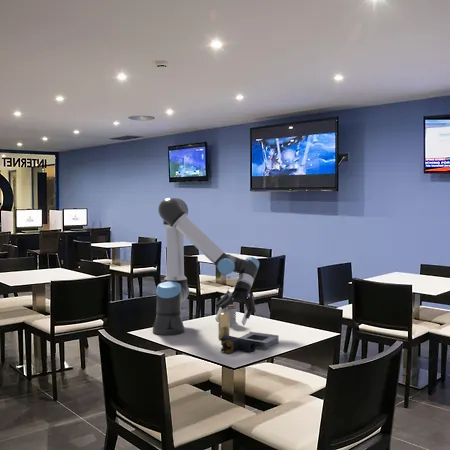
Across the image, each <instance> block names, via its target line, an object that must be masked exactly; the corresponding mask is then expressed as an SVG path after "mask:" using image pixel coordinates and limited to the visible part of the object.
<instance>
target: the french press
mask: <svg viewBox="0 0 450 450" xmlns="http://www.w3.org/2000/svg"><path fill="white" fill-rule="evenodd" d="M226 278H227V279H231V275H227V277H226ZM227 291H229V292H230V289H228V290H227ZM224 295H225V294H224ZM224 295H221V296H220V299H221V298H222V297H223V296H224ZM231 296H232V295H231ZM229 298H230V297H229ZM229 298H228V299H229ZM232 299H233V298H232ZM222 310H223V312H228V313H230V326H231V327H232V326H238V322H237V319H236V318H237V307H236V304H234V303H231V304H229V305H228V306H226V307H225V308H224V309H222ZM230 326H229V327H230Z"/></svg>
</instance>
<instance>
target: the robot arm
mask: <svg viewBox="0 0 450 450" xmlns="http://www.w3.org/2000/svg"><path fill="white" fill-rule="evenodd" d="M158 214H159V217H160V218H161V219H162V221H163V222H162V223H163V226H164V227H165V229H166V276H165V277H164V278H163V282H160V283H158V285H157V286H156V291H155V292H156V293H155V294H156V316H155V320H154V322H153V326H152V333H153V334H156V335H160V336H175V335H180V334H181V335H182V333H184V332H185V326H184V323H183V320H182V319H183V317H182V314H181V313H182V312H181V305H182V304H183V303H185V302H186V301H187V299H188V297H189V295H190V288H189V285H188V278H187V277H186V276H185V264H184V263H185V259H184V257H185V256H184V255H185V253H184V251H185V249H184V248H185V247H184V246H185V245H184V238H186V239H187V240H188V241H189V243H191V244H192V245H193V246H194V247H195V249H197V250H198V251H200V252H201V254H202V255H204V256H205V257H206V258H207V259H208V261H210V262H211V263H212V264H213V265H214V266H215V267H216V268H217V270H218V272H219V273H220V274H223V275H229V274H233V273H236V274H238V275H239V276H238V278H237V280H236V283H235V286H234V287H233V288H234V289H233V290H232V291H230V290H229V291H228V290H227V291H226V292H225V294H224V296H223V295H222V296H223V297H222V296H221V297H222V298H221V297H220V299H219V300H218V301H217V302H216V303H215V304H214V305H215V307H216V309H217V310H216V311H215V314H216V316H215V318H214V319H215V321H216V322H217V323H219V313H220V312H223V310H222V309H224V308H225V307H226V306H228V305H229V304H234V302H235V303H238V302H239V303H242V302H243V303H244V306H245V307H246V310H245V311H244V314H243V317H242V320H241V324H242V325H243V326H245V325H246V323H247V321H248V320H249V319H250V317H251V314H252V313H256V312H257V311H256V305H255V300H254V299H255V295H254V293H253V292H251V290H252V288H253V287H252V286H253V283H254V281H255V278H256V276H257V273H258V271H259V268H260V260H259V259H257V258H256V257H254V256H248V257H246V258H245V259H243V258H240V257H237V256H234V255H233V254H229V253H226V252H225V251H224V250H223V249H221V247H219V246H218V245H217V244H216V243H215V242H214V241H213V240H212V239H211V238H210V237H209V236H208V235H206V233H205V232H203V230H202V229H200V227H198V226H197V224H195V223H194V222H193V221H192V220H191V219H190V218H189V217H188V214H189V207H188V205H187V203H186V202H185V201H184V200H183V199H181V198H177V197H167V198H165V199H162V201H160V203H159V204H158ZM231 295H232V296H231ZM229 297H230V298H229ZM228 298H229V299H228ZM232 298H233V299H232ZM248 298H249V301H250V305H249V304H248V301H247V299H248ZM250 306H251V308H250ZM226 308H227V307H226Z"/></svg>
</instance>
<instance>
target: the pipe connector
mask: <svg viewBox="0 0 450 450" xmlns="http://www.w3.org/2000/svg"><path fill="white" fill-rule="evenodd" d="M220 341H221V342H220V345H221V346H222V348H220V352H221V353H226V354H230V353H232V354H233V353H234V352H237V351H241V352H245V353H249V354H252V353H254V352H255V351H256V350H257V349H256V343H255V341H251V340H247V339H242V338H240V337H236V336H233V335H229V336H228V335H224V336H223V337H222V340H220Z"/></svg>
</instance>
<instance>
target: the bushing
mask: <svg viewBox="0 0 450 450" xmlns="http://www.w3.org/2000/svg"><path fill="white" fill-rule="evenodd" d="M217 334H218V336H217V337H218V339H219V340H218V341H221V340H222V337H223V336H224V335H228V336H230V313H228V312H220V313H219V322H218V333H217Z"/></svg>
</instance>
